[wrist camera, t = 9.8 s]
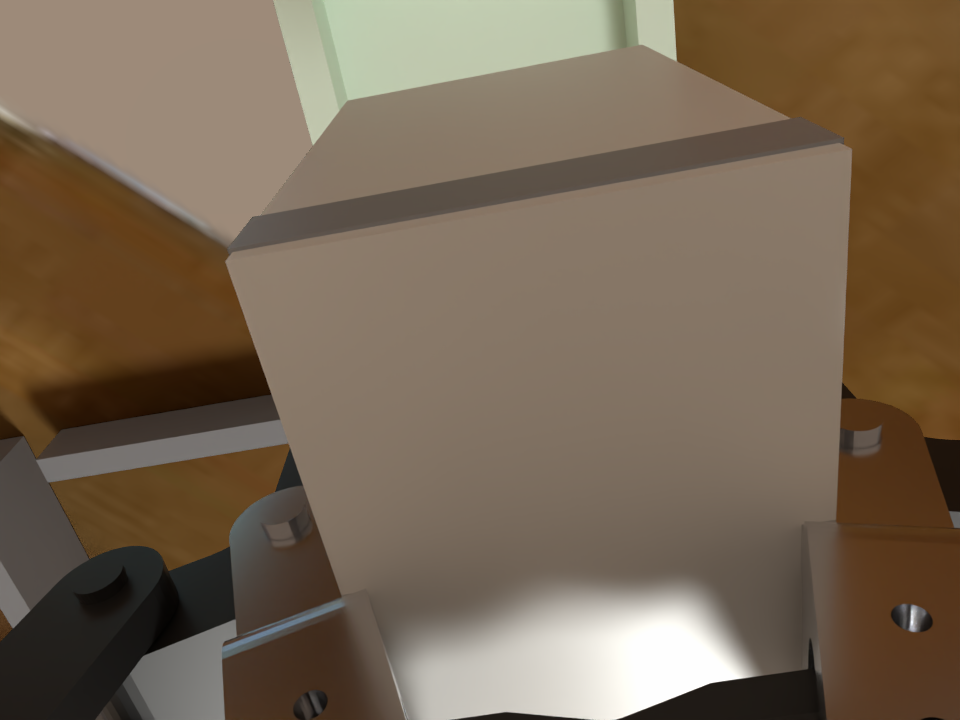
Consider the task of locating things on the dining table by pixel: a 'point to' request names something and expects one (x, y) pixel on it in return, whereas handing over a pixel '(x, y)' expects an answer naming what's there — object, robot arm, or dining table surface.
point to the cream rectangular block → (561, 376)
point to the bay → (96, 450)
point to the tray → (448, 41)
